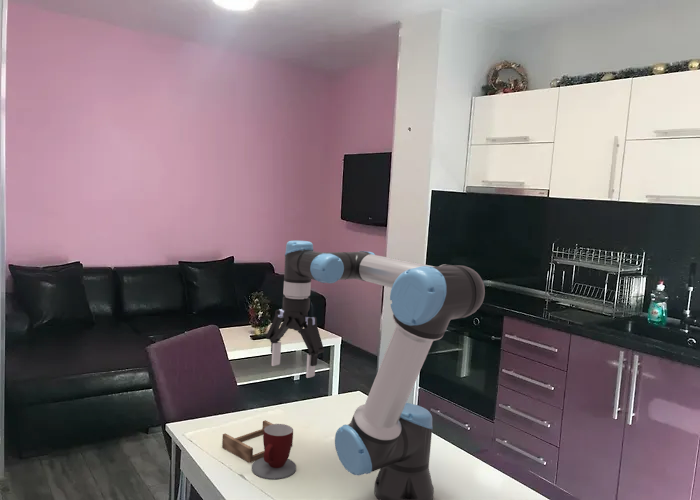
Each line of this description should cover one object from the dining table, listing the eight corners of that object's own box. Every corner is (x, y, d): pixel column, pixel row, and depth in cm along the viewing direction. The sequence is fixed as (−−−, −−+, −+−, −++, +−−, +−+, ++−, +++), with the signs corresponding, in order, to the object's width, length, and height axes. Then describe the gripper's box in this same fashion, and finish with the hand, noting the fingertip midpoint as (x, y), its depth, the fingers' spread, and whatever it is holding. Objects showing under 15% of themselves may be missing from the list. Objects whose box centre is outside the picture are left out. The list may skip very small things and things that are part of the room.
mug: (281, 478, 150) (284, 441, 149) (253, 473, 151) (255, 436, 150) (295, 460, 160) (297, 426, 159) (268, 456, 162) (270, 421, 161)
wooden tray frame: (292, 446, 170) (292, 433, 170) (249, 463, 158) (250, 449, 158) (264, 432, 178) (265, 420, 178) (222, 447, 166) (222, 434, 166)
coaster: (305, 469, 156) (305, 467, 156) (271, 484, 147) (271, 482, 147) (275, 454, 164) (276, 452, 164) (242, 467, 155) (242, 465, 155)
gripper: (339, 302, 154) (334, 378, 156) (275, 288, 170) (271, 358, 172) (321, 305, 148) (316, 385, 150) (256, 290, 164) (252, 362, 166)
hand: (292, 370), depth 161 cm, fingers open, 13 cm apart
